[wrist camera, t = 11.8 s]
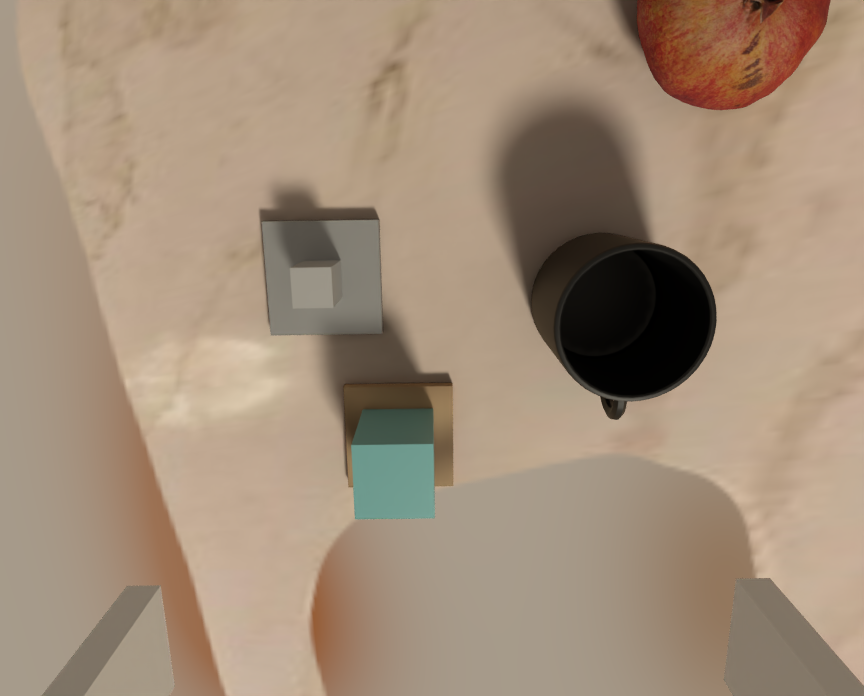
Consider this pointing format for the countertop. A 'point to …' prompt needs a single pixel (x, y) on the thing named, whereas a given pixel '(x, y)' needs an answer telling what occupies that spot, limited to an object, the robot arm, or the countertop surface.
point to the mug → (624, 316)
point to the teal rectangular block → (394, 464)
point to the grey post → (323, 277)
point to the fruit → (727, 46)
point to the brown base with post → (406, 398)
